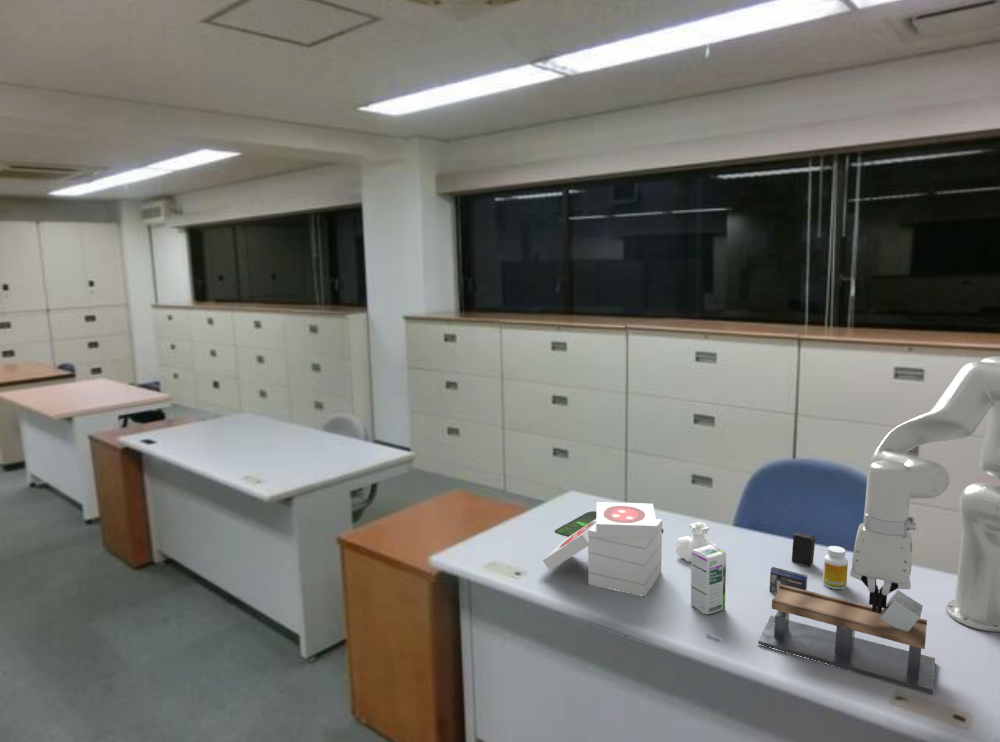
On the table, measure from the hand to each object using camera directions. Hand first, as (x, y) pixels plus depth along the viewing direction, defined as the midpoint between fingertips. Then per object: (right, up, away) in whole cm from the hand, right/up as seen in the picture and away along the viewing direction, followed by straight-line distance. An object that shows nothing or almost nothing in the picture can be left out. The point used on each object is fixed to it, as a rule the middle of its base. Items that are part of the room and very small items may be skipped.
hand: (877, 609), depth 138 cm
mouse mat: (-43, -1, +70) cm, 82 cm away
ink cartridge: (+6, -4, +46) cm, 47 cm away
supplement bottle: (+8, -6, +34) cm, 36 cm away
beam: (-4, -3, +4) cm, 7 cm away
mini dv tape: (-5, -7, +30) cm, 31 cm away
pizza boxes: (-49, -6, +43) cm, 65 cm away
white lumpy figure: (-22, -4, +50) cm, 55 cm away
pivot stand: (-4, -11, +5) cm, 13 cm away
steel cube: (+3, -2, -2) cm, 3 cm away
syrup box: (-27, -9, +25) cm, 38 cm away
